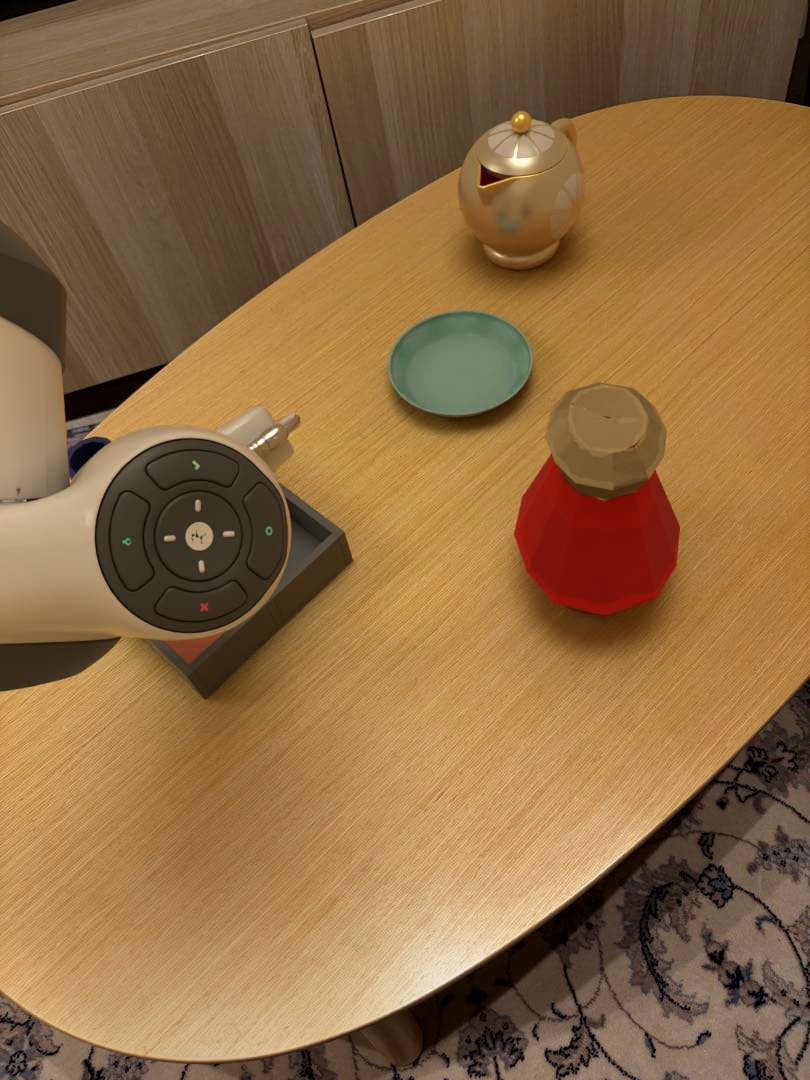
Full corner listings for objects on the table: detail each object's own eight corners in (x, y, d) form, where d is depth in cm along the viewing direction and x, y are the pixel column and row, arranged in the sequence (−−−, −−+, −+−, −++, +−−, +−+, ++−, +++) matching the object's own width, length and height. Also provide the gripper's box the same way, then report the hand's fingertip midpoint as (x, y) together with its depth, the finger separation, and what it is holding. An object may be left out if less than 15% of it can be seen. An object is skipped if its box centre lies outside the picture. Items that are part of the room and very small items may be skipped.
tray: (205, 700, 73) (187, 677, 69) (85, 582, 81) (63, 556, 77) (353, 560, 79) (344, 531, 75) (228, 463, 87) (214, 432, 83)
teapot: (534, 307, 94) (537, 173, 81) (435, 264, 100) (422, 132, 86) (620, 215, 101) (636, 77, 87) (522, 180, 107) (523, 45, 93)
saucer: (561, 366, 89) (562, 347, 87) (470, 456, 84) (468, 438, 82) (452, 308, 96) (451, 289, 94) (362, 389, 91) (358, 371, 89)
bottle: (683, 645, 71) (734, 507, 55) (518, 650, 73) (518, 517, 56) (657, 491, 80) (693, 330, 63) (510, 498, 81) (507, 342, 64)
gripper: (275, 364, 47) (227, 393, 60) (-67, 593, 41) (-39, 571, 54) (339, 460, 49) (279, 468, 61) (19, 694, 43) (26, 649, 56)
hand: (128, 518), depth 58 cm, fingers closed on navy bottle, 6 cm apart
